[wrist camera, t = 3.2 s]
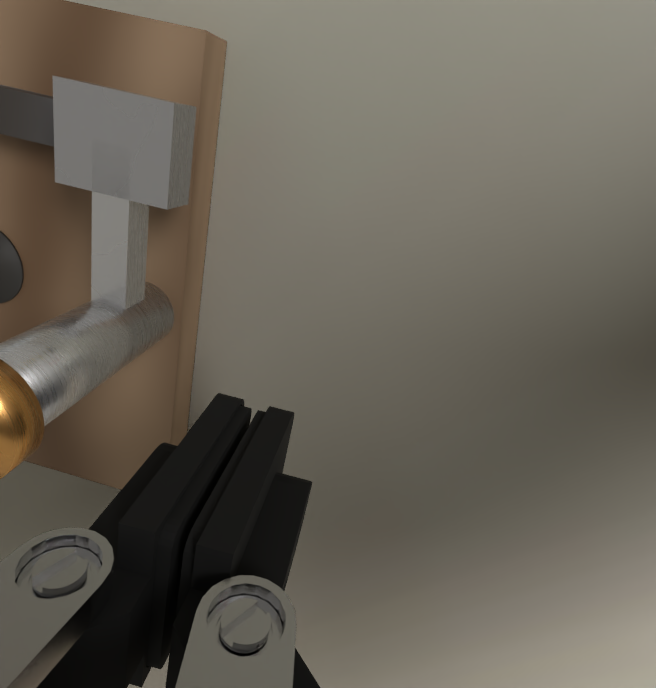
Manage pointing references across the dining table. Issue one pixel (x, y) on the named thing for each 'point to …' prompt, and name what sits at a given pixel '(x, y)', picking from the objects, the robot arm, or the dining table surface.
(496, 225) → the dining table surface
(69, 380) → the track spotlight
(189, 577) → the robot arm
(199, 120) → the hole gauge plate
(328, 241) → the dining table surface
